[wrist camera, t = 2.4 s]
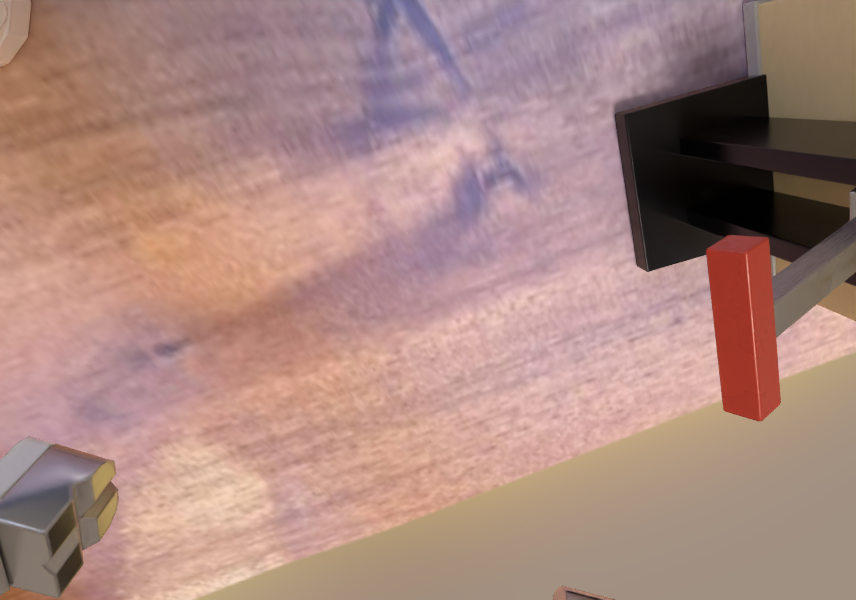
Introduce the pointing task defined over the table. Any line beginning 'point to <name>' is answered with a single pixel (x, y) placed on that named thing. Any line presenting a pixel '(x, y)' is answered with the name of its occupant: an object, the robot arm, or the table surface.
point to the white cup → (13, 27)
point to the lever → (767, 308)
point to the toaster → (807, 88)
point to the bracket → (728, 173)
